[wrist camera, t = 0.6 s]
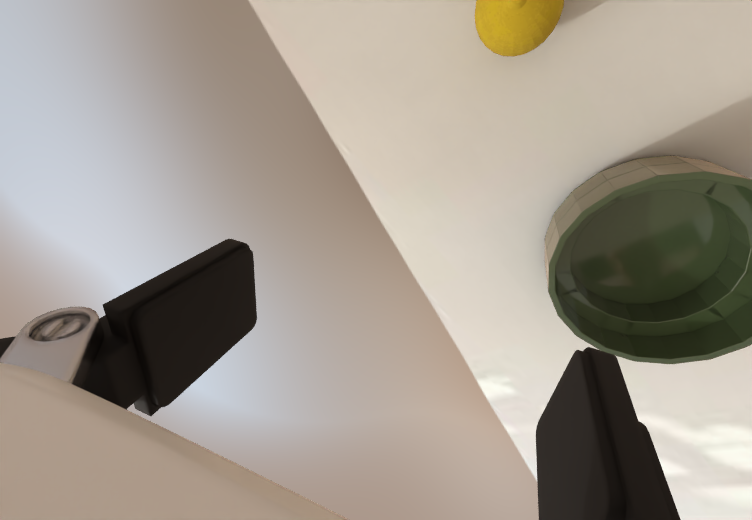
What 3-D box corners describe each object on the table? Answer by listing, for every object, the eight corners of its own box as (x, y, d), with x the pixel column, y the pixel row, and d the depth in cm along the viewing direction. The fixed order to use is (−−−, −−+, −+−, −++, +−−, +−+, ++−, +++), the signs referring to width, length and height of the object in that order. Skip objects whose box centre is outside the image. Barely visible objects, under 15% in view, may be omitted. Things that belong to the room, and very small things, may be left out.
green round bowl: (736, 118, 25) (795, 128, 20) (774, 295, 29) (833, 344, 23) (520, 199, 33) (520, 222, 27) (572, 331, 36) (581, 375, 31)
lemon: (567, 36, 27) (582, 20, 20) (492, 72, 29) (483, 68, 22) (548, -46, 25) (557, -94, 18) (471, -1, 28) (454, -28, 21)
